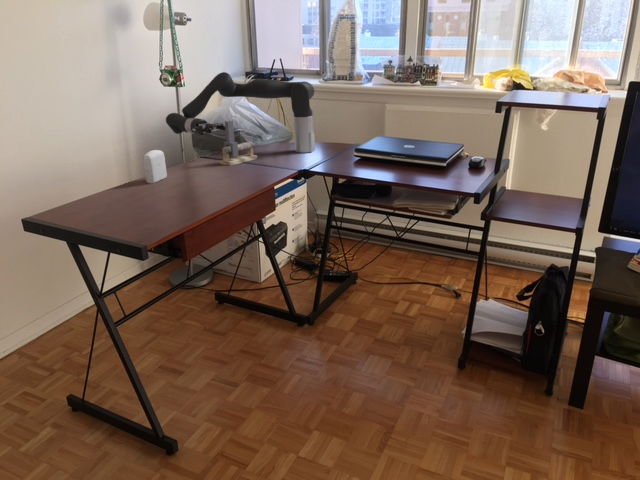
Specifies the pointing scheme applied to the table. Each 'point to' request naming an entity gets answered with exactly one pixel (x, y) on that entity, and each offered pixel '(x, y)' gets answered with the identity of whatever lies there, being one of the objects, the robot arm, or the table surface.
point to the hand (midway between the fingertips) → (218, 129)
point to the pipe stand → (238, 159)
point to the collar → (231, 139)
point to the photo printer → (154, 166)
